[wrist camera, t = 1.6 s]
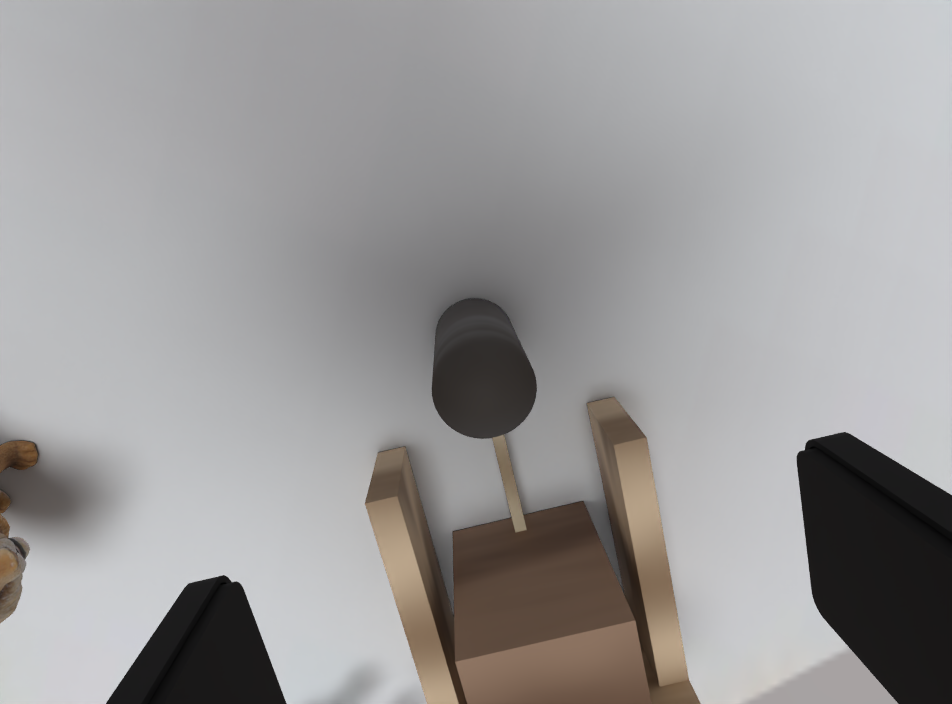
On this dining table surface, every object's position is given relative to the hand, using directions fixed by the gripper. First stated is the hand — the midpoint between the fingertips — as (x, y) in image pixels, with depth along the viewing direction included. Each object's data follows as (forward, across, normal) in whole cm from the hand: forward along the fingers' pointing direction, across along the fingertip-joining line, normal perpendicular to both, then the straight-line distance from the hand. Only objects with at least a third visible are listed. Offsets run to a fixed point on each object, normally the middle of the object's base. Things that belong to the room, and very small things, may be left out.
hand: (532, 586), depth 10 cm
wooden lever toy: (+16, 0, +6) cm, 17 cm away
